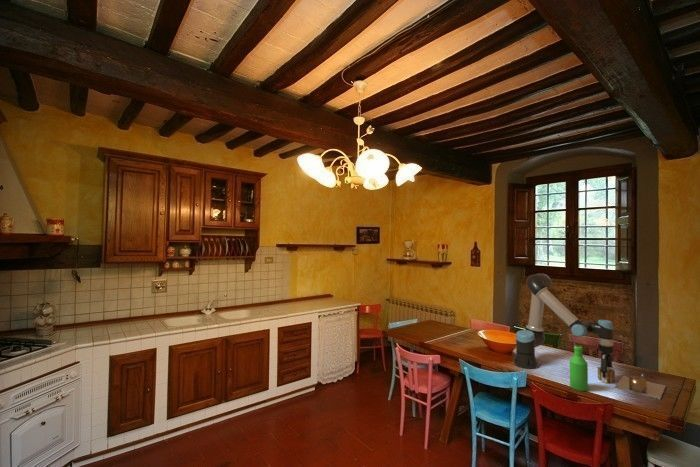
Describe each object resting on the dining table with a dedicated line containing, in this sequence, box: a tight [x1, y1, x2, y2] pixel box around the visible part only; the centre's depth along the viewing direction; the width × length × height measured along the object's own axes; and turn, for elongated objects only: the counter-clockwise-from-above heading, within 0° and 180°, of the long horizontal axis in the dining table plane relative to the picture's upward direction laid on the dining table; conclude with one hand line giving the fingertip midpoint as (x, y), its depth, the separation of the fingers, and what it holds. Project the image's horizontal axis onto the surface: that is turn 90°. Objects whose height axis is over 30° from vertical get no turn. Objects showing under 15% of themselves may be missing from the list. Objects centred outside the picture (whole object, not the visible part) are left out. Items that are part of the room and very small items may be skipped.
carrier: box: [614, 372, 666, 400], centre depth 199 cm, size 25×20×8 cm
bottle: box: [569, 345, 589, 392], centre depth 198 cm, size 9×9×25 cm
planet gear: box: [597, 366, 616, 384], centre depth 210 cm, size 9×9×7 cm
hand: (606, 379), depth 209 cm, fingers open, 10 cm apart
